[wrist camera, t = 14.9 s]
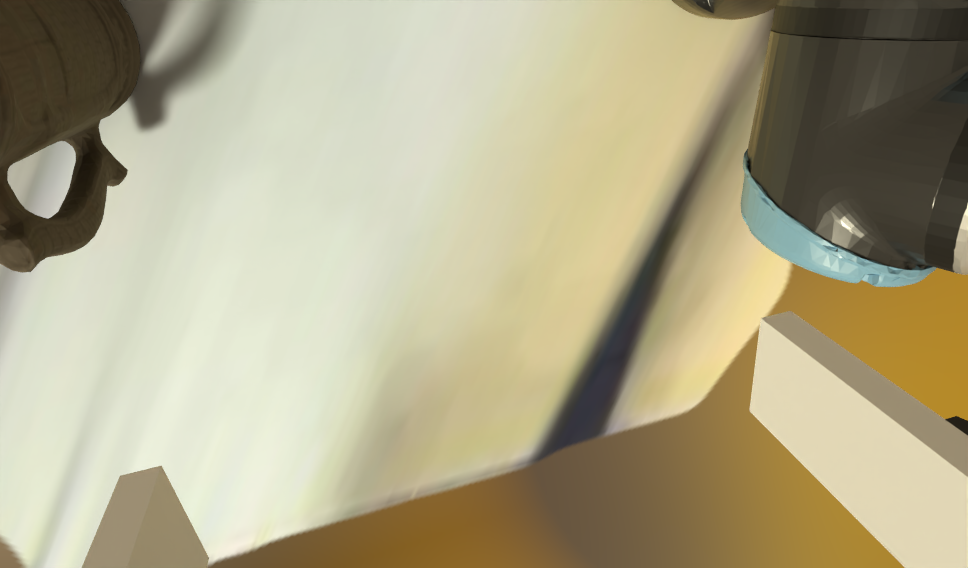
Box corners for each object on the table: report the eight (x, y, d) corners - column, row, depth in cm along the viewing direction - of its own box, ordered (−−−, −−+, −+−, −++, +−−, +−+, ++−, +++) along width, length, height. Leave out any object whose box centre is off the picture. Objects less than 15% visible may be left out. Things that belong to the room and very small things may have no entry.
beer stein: (-110, -5, 36) (-474, 49, 19) (34, -105, 35) (-211, -140, 18) (99, 194, 44) (-26, 352, 27) (218, 116, 44) (164, 229, 27)
